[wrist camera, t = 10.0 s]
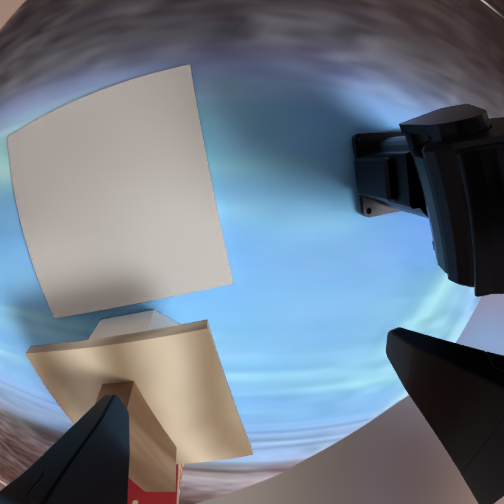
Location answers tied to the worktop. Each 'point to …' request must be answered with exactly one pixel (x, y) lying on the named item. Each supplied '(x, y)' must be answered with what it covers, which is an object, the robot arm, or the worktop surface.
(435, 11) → the worktop surface
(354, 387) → the worktop surface
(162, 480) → the lid
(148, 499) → the milk carton
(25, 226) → the tray
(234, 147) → the worktop surface
